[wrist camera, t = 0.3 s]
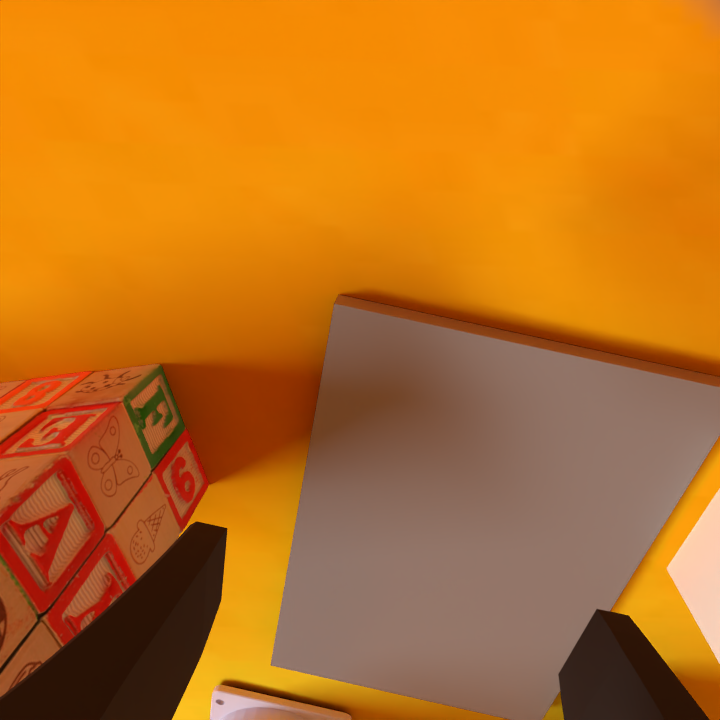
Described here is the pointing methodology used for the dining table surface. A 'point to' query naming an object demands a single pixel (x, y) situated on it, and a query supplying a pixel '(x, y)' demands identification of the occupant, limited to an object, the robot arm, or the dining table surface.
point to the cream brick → (702, 573)
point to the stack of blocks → (84, 501)
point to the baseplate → (476, 504)
